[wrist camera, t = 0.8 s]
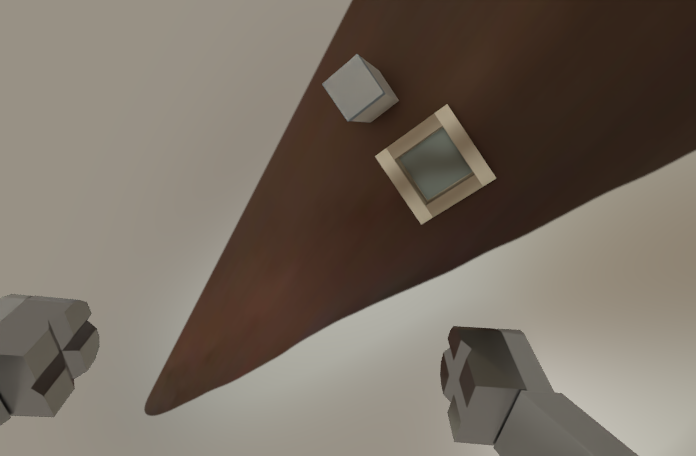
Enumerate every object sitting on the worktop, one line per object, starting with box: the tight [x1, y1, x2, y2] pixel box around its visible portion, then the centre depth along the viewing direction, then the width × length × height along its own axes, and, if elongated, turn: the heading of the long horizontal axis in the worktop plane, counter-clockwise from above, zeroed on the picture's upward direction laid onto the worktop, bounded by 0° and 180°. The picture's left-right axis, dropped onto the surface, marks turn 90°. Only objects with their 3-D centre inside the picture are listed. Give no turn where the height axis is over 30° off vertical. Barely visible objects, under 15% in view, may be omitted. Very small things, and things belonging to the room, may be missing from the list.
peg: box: [322, 54, 399, 123], centre depth 39 cm, size 4×4×10 cm
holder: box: [375, 104, 496, 225], centre depth 42 cm, size 9×9×4 cm
